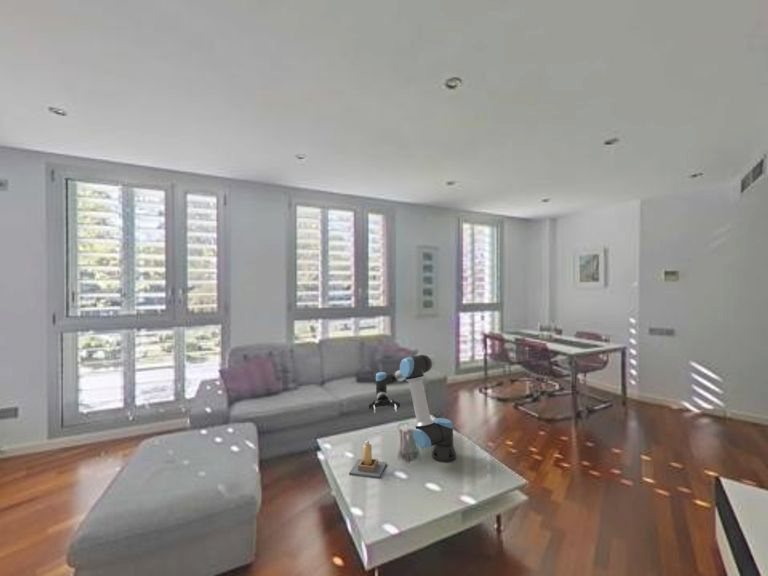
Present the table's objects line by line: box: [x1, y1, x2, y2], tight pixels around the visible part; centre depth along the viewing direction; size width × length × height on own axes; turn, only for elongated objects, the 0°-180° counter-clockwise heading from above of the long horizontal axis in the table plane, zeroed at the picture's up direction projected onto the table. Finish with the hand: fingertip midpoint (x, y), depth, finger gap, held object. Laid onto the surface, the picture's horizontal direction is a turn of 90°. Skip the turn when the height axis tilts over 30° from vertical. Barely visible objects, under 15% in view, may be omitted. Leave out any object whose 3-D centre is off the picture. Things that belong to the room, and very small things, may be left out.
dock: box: [349, 458, 387, 479], centre depth 214 cm, size 18×16×4 cm
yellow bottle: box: [362, 440, 373, 466], centre depth 214 cm, size 5×5×16 cm
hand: (385, 410), depth 227 cm, fingers open, 13 cm apart
